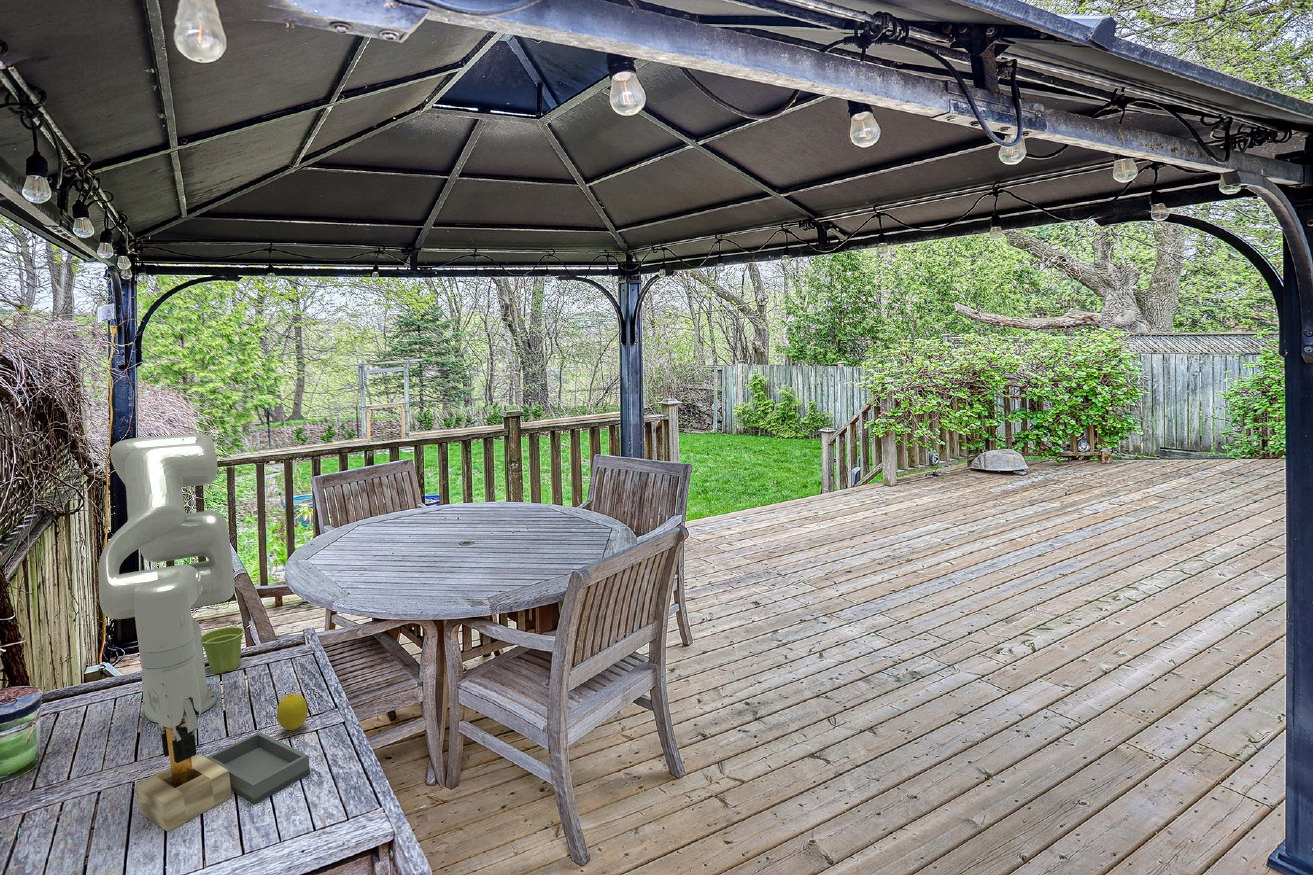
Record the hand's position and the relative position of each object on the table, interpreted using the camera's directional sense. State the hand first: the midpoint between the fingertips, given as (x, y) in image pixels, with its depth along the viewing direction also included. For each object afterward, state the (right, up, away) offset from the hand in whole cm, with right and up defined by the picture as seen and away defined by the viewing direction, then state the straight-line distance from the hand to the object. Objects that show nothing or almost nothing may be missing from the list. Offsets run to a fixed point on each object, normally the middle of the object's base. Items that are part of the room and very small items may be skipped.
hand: (180, 754), depth 119 cm
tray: (+8, -8, +9) cm, 14 cm away
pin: (0, -7, +1) cm, 7 cm away
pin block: (0, -9, +1) cm, 9 cm away
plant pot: (-24, -3, +52) cm, 58 cm away
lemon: (+7, -6, +23) cm, 25 cm away
